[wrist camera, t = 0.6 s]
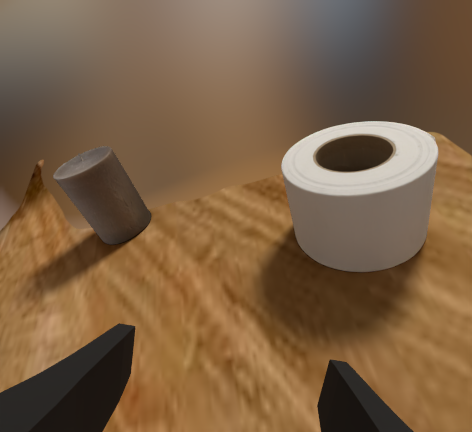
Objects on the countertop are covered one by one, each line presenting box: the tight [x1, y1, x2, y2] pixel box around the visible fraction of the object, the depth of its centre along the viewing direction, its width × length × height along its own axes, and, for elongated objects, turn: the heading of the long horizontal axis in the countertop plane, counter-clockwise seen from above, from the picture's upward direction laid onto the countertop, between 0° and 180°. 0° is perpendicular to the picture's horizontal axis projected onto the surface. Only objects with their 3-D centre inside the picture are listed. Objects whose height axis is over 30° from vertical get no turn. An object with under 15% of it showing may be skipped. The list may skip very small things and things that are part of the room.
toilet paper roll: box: [281, 121, 438, 272], centre depth 35 cm, size 16×15×11 cm
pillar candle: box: [53, 146, 151, 245], centre depth 50 cm, size 10×10×15 cm
